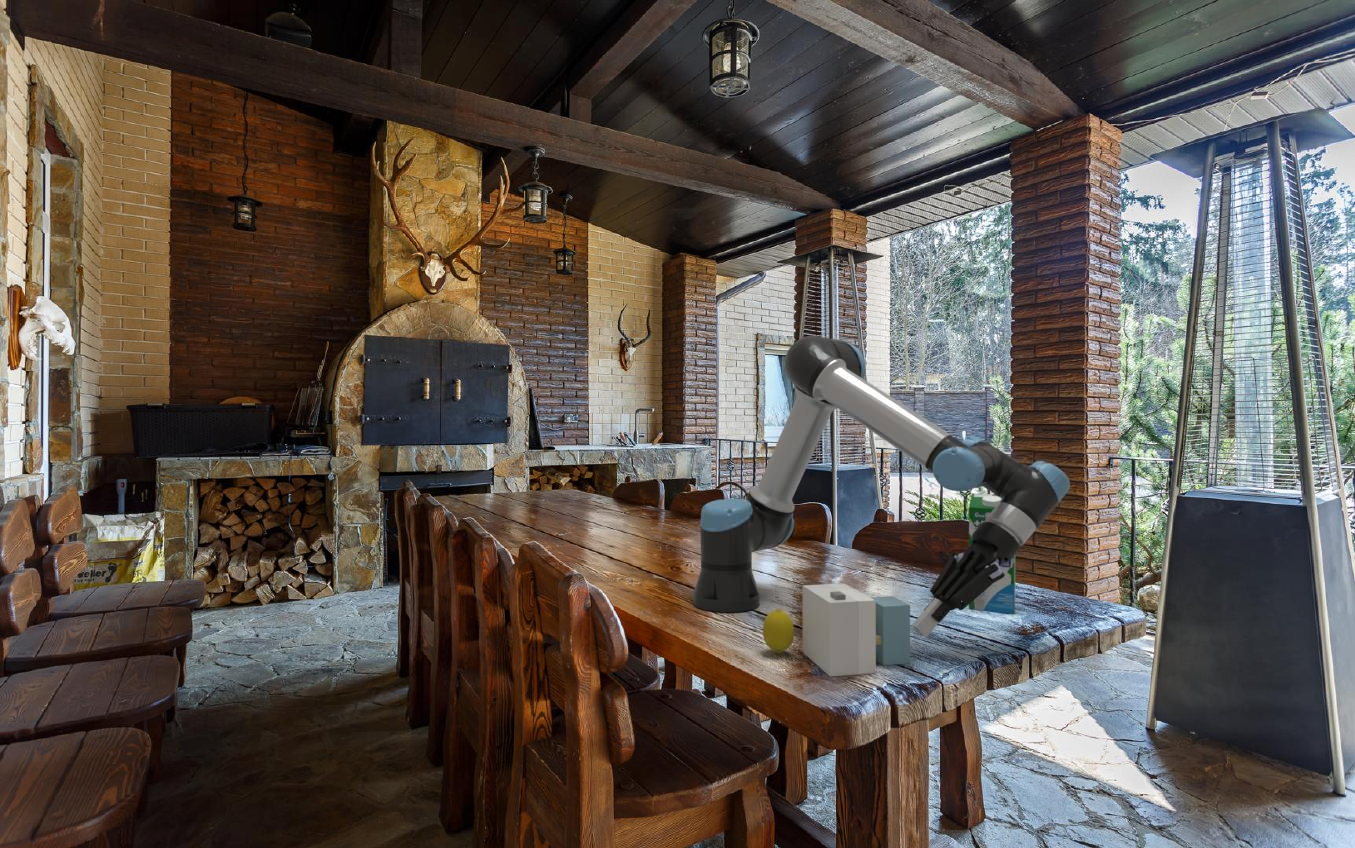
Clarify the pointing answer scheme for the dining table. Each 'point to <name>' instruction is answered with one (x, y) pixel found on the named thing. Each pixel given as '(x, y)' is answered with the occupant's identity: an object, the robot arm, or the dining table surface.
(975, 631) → the dining table surface
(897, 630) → the plug
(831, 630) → the socket
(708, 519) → the robot arm
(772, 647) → the lemon
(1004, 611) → the milk carton
